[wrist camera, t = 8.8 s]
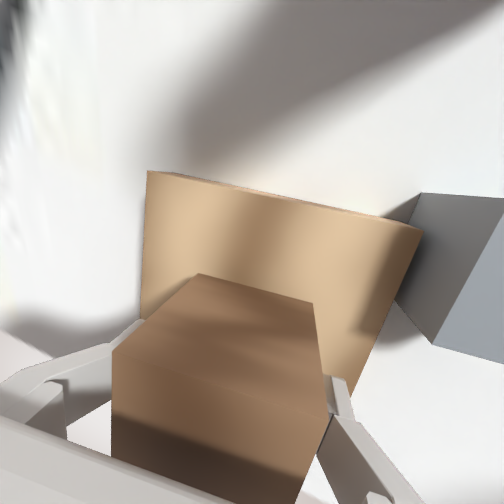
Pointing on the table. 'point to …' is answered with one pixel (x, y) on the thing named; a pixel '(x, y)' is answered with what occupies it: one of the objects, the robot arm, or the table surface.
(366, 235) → the base board
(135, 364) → the walnut block
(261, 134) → the table surface
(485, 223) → the slate block
